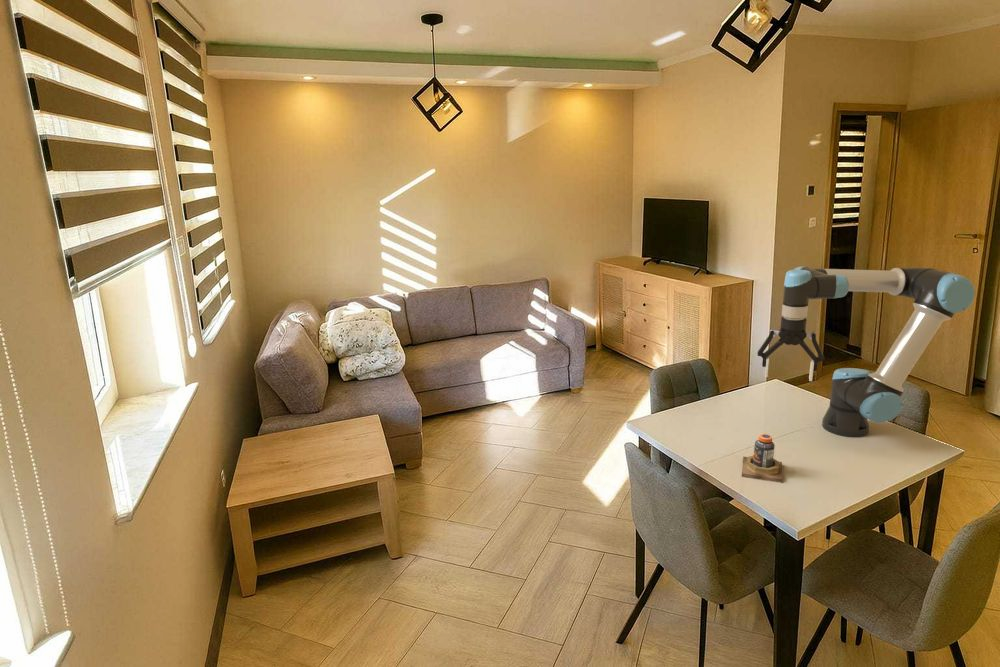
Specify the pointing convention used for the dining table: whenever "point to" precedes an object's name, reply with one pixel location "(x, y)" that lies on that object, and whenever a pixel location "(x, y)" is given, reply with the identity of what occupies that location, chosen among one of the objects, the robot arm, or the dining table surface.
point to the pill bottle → (763, 451)
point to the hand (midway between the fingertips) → (788, 377)
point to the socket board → (762, 470)
